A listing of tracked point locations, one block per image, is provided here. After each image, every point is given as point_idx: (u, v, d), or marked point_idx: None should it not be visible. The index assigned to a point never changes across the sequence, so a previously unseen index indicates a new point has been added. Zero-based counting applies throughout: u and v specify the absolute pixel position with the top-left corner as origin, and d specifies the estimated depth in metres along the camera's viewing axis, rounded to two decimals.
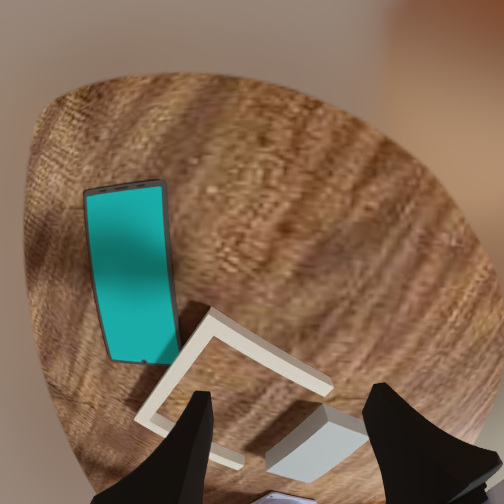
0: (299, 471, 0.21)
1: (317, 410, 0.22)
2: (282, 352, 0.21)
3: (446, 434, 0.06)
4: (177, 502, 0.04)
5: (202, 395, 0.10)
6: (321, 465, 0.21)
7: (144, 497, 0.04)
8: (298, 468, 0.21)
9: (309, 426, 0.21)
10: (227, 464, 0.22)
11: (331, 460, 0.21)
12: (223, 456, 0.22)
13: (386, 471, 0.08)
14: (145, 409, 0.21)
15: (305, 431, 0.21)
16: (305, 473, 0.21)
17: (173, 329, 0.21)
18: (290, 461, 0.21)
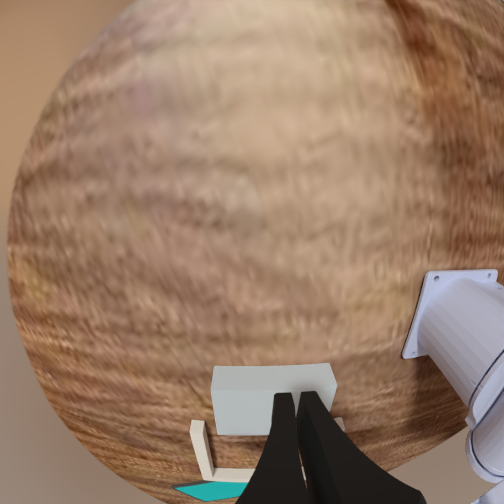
0: None
1: None
2: None
3: (365, 459, 0.06)
4: None
5: (285, 397, 0.10)
6: None
7: None
8: None
9: None
10: None
11: None
12: None
13: (309, 486, 0.07)
14: None
15: None
16: None
17: None
18: None
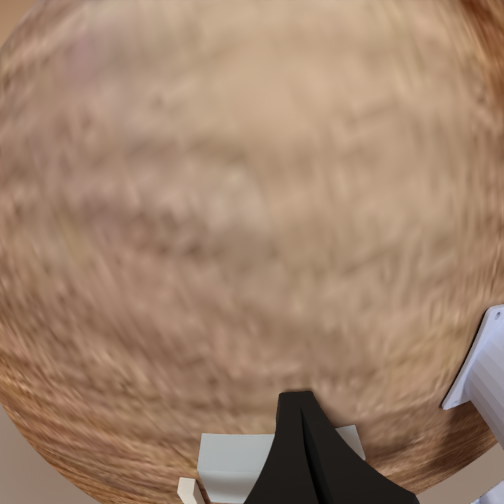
0: None
1: None
2: None
3: (359, 460, 0.06)
4: (317, 503, 0.05)
5: (290, 397, 0.10)
6: None
7: None
8: None
9: None
10: None
11: None
12: None
13: None
14: None
15: None
16: None
17: None
18: None
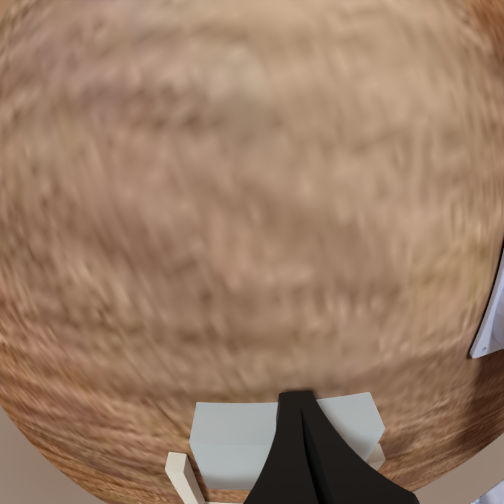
0: None
1: None
2: None
3: (359, 460, 0.06)
4: (318, 503, 0.05)
5: (290, 397, 0.10)
6: None
7: None
8: None
9: None
10: (375, 469, 0.13)
11: None
12: None
13: None
14: None
15: None
16: None
17: None
18: None
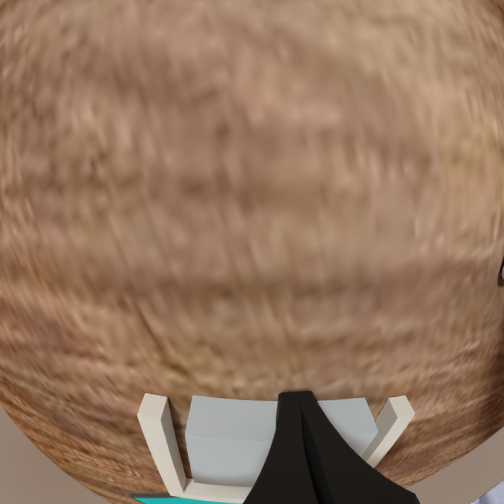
0: None
1: None
2: None
3: (360, 460, 0.06)
4: (317, 503, 0.05)
5: (290, 396, 0.10)
6: None
7: None
8: None
9: None
10: (401, 430, 0.12)
11: None
12: (380, 440, 0.12)
13: None
14: None
15: None
16: None
17: None
18: None
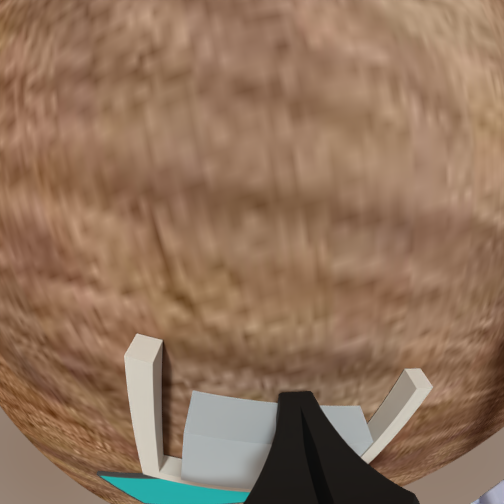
0: None
1: None
2: None
3: (359, 460, 0.06)
4: (317, 503, 0.05)
5: (290, 396, 0.10)
6: None
7: None
8: None
9: None
10: (415, 406, 0.11)
11: None
12: (392, 418, 0.11)
13: None
14: None
15: None
16: None
17: None
18: None
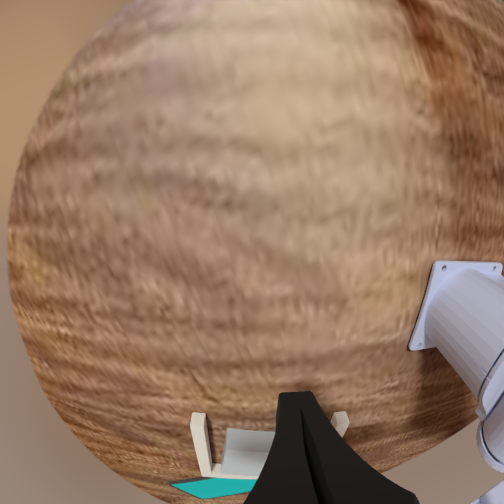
0: None
1: None
2: None
3: (359, 460, 0.06)
4: (317, 503, 0.05)
5: (290, 397, 0.10)
6: None
7: None
8: None
9: None
10: (343, 431, 0.21)
11: None
12: None
13: None
14: None
15: None
16: None
17: None
18: None
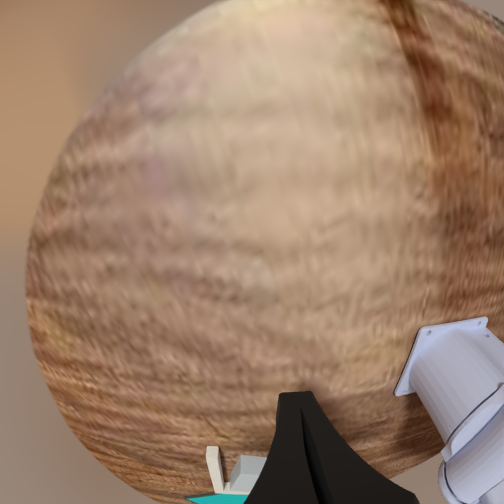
0: None
1: None
2: None
3: (359, 460, 0.06)
4: (317, 503, 0.05)
5: (290, 397, 0.10)
6: None
7: None
8: None
9: None
10: None
11: None
12: None
13: None
14: None
15: None
16: None
17: None
18: None
